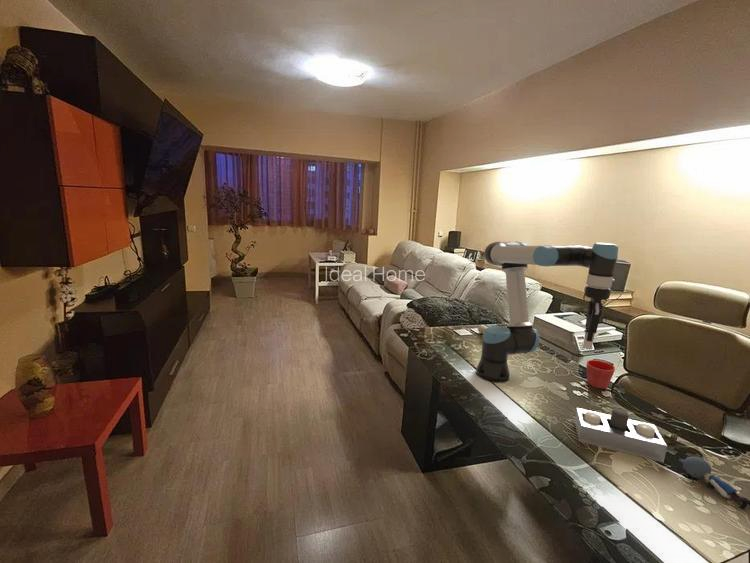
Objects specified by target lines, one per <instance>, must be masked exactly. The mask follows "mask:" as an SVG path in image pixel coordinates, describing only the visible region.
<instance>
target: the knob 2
mask: <svg viewBox="0 0 750 563" xmlns="http://www.w3.org/2000/svg"><path fill="white" fill-rule="evenodd" d="M636 433H637V434H639V435H644V436H648V437H652V438H654V433H655V429H654V428H653V427H651V426H649V425H647V424H643V423H638V424H637V429H636Z"/></svg>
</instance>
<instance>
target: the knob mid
mask: <svg viewBox="0 0 750 563" xmlns="http://www.w3.org/2000/svg"><path fill="white" fill-rule="evenodd" d="M610 415H611V419H610V425H609V427H610V428H614V429H618V430H622V431H626V428H627V422H628V419H629V416H630V415H629V413H628V412H626V411H624V410H623V409H618V408H612V410H611V414H610Z"/></svg>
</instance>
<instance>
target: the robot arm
mask: <svg viewBox="0 0 750 563" xmlns="http://www.w3.org/2000/svg"><path fill="white" fill-rule="evenodd" d="M618 254H619V246H618V245H617V244H615V243H607V242H594V243H593V246H591V247H590V246H584V245H580V244H568V245H549V244H548V245H528V244H527V243H526V242H522V241H520V242H519V241H494V242H491V243H489V244H488V245H487V246H486V247H485V248H484V251H483V256H484V260H485V261H486V262H487V263H488V264H490V265H492V266H499V267H501V270H502V272H504V273H505V280H506V281H505V282H506V291H507V292H506V293H507V294H506V295H507V306H508V318H509V322H508V323H507V324H506V326H502V325H499V326H498V325H493V326H489V327H486V328H487V329H485V331H484V333H483V336H482V344H481V345H482V348H481V356H480V359H479V362H478V364H477V366H476V370H475V371H476V372H475V373H476V376H477V377H479V378H480V379H482V380H484V381H486V382H491V383H497V384H498V383H502V384H503V383H506V382H508V381H509V380H510V377H511V376H510V375H511V374H510V373H511V372H510V369H509V365H508V356H509V355H517V354H520V355H521V354H529V353H533V352H535V351H536V350H537V348H539V346H540V341H541V340H540V339H541V338H540V335H539V333H538V331H537V329H535V328H534V326H533V323H531V322H530V318H529V310H528V308H529V307H528V296H527V287H526V286H527V285H526V274H525V273H526V271H527V269H529V268H528V265H535V266H539V267H540V266H541V267H576V266H577V267H583V268H588V273H587V278H586V282H585V283H586V286H585V289H584V296H585V297H586V298H589V299H590V300H588V302H587V305H588V306H587V312H586V318H585V319H586V320H585V329H584V338H583V344H582V348H583V349H585V350H590V351H591V350H592V349H593V345H594V340H595V335H596V334H597V331H598V326H599V322H600V318H601V315H602V313H603V310H602V309H603V305H604V304H603V303H602V300H604V301H605V300H609V299H610V296H611V291H612V289H611V288H612V286H613V285H612V284H613V282H615V279H614V274H615V269H616V265H617V260H618Z"/></svg>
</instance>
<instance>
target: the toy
mask: <svg viewBox="0 0 750 563" xmlns="http://www.w3.org/2000/svg"><path fill="white" fill-rule="evenodd" d="M678 461H679V462H680V463H681V464H682V469H683V470H684V471H685V473H686V474H687V475H688V476H690V477H691V478H694V479H699V480H700V479H701V480H703V479H705V481H706V482H705V485H706V487H707V488H710V489H715V490H717V491H718V492H719V494H720V495H721V496H722V497H724V498H726V499H732V500H734V501H736V502H741V505H740V508H741V509H742V510H745V509H746V508H747V507H748V506H749V507H750V499H748V498H747V497H744V496H741V495H740V496H739V494H738V493H737V492H739V490H737V489H735V487H733V486H732V485H730V484H728V483H727V482H725V481H724V480H722V479H720V478H718V477H717V476H715V475H714V474H712V466H711V465H710V463H709V462H708V461H707V460H705V459H703V458H701V457H698V456H688V457H686V458H684V459H683V458H679V459H678Z"/></svg>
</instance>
